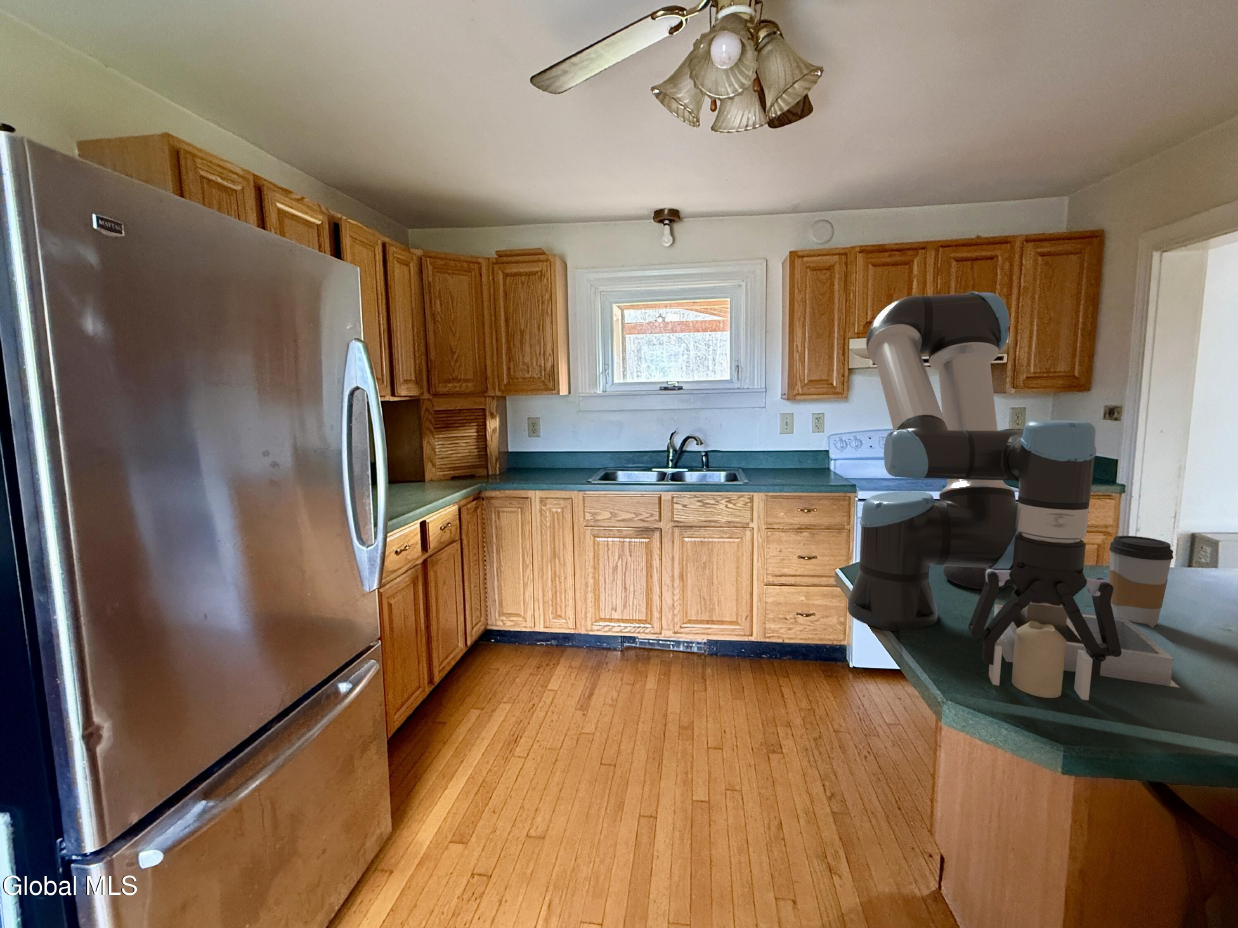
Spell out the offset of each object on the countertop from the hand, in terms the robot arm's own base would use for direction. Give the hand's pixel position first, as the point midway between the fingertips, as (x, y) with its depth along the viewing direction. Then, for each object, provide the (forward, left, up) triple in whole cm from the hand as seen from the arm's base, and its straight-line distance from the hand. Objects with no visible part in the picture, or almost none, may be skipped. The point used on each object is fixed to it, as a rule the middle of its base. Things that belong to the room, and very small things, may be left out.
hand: (1035, 692), depth 76 cm
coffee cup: (+23, +35, 0) cm, 42 cm away
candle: (0, 0, 0) cm, 0 cm away
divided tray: (+8, +14, 0) cm, 16 cm away
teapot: (+4, +50, -1) cm, 51 cm away
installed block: (+4, +14, +1) cm, 15 cm away
